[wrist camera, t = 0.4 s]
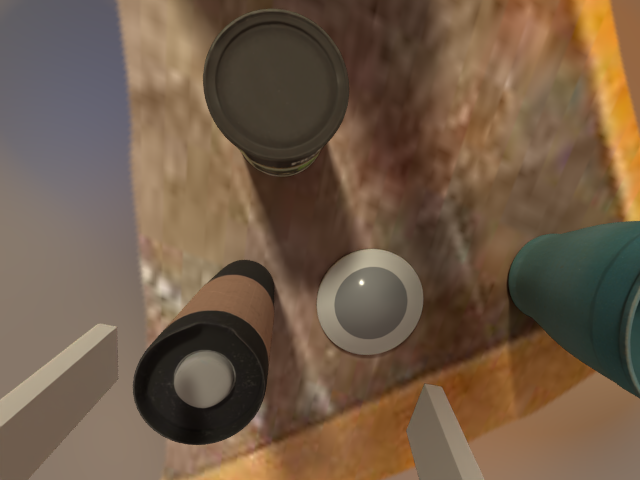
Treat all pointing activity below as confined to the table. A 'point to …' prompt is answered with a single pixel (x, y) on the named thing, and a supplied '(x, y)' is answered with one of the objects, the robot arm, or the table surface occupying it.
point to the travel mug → (210, 359)
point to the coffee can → (276, 89)
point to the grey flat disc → (369, 301)
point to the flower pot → (586, 295)
